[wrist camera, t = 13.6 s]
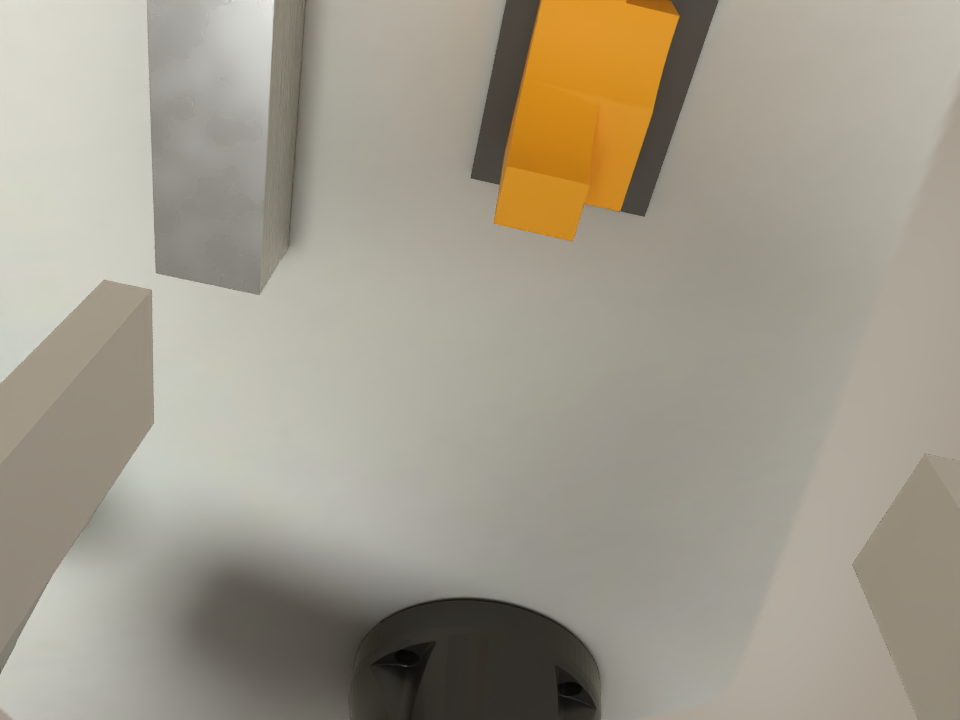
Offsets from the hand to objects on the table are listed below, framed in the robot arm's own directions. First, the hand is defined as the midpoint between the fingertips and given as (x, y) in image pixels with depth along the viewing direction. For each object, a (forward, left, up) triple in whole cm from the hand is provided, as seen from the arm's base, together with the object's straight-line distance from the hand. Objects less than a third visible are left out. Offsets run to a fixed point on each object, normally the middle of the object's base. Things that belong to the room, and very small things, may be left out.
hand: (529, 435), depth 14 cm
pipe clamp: (+4, -1, -20) cm, 20 cm away
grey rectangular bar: (-2, +11, -20) cm, 23 cm away
